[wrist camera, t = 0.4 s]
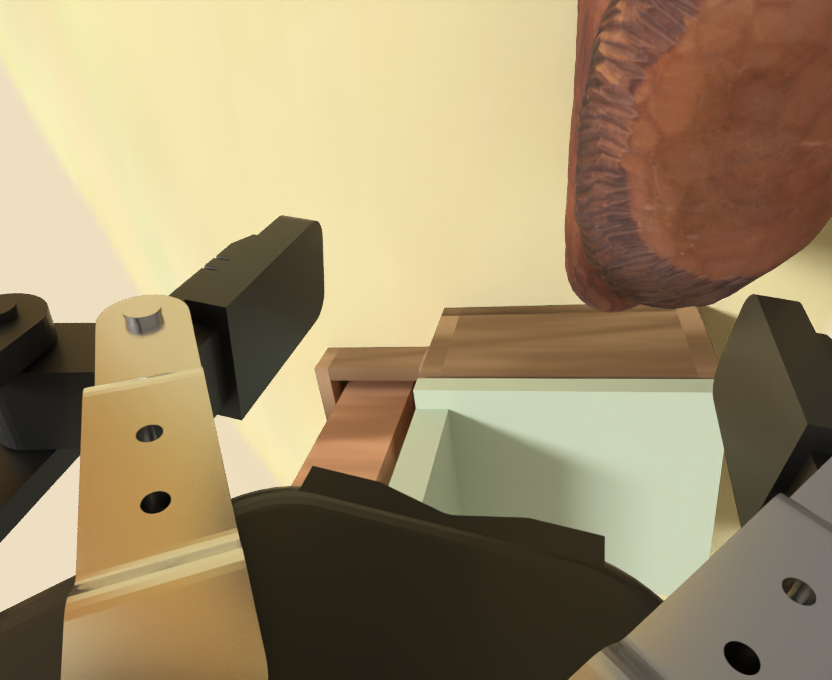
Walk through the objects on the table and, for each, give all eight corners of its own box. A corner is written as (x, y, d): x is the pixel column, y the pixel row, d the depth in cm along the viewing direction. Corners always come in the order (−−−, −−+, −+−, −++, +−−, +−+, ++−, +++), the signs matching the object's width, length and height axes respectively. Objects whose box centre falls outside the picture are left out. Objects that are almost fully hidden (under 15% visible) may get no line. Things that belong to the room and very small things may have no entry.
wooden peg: (355, 368, 38) (238, 582, 24) (418, 368, 37) (333, 590, 23) (366, 421, 40) (263, 646, 26) (426, 422, 39) (352, 657, 25)
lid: (417, 378, 28) (371, 501, 22) (726, 379, 25) (785, 523, 18) (445, 561, 34) (415, 705, 27) (700, 581, 31) (738, 749, 24)
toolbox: (319, 311, 36) (271, 374, 30) (694, 301, 31) (724, 375, 25) (355, 468, 42) (320, 548, 36) (677, 482, 37) (699, 576, 31)
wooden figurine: (695, 190, 29) (851, 418, 13) (556, 187, 30) (553, 393, 15) (756, -123, 23) (1150, -347, 8) (580, -111, 24) (617, -287, 9)
